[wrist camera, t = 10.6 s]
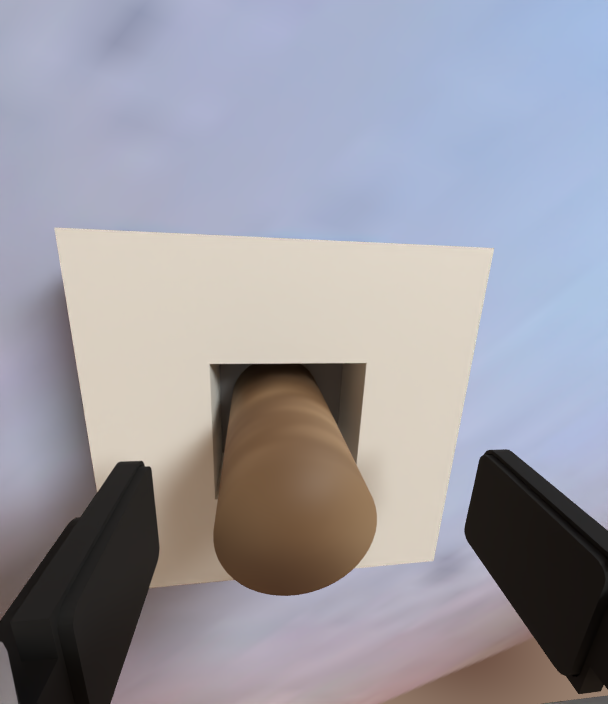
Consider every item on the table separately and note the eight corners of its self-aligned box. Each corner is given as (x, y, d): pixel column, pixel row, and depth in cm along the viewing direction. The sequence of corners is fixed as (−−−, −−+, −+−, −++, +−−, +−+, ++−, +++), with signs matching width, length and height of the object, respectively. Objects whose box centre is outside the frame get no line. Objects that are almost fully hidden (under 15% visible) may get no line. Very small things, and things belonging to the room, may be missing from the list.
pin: (319, 355, 16) (383, 454, 8) (317, 433, 17) (371, 585, 9) (230, 358, 15) (207, 467, 7) (234, 439, 16) (218, 604, 9)
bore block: (436, 247, 16) (494, 248, 12) (399, 500, 20) (433, 560, 16) (109, 232, 14) (54, 227, 10) (143, 517, 18) (113, 591, 14)
